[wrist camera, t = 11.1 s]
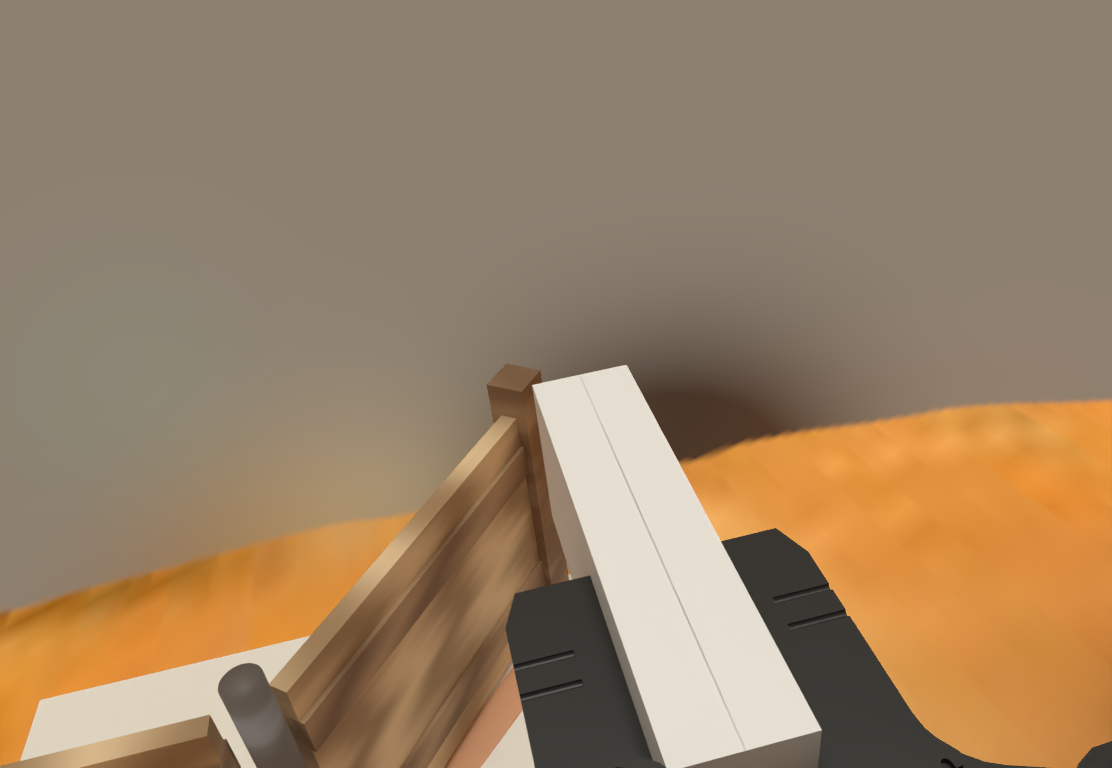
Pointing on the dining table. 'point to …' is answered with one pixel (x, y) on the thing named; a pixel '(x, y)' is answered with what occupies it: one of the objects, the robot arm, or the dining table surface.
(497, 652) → the hinged fence section
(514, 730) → the card
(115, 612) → the dining table surface
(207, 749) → the fixed fence section
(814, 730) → the robot arm
